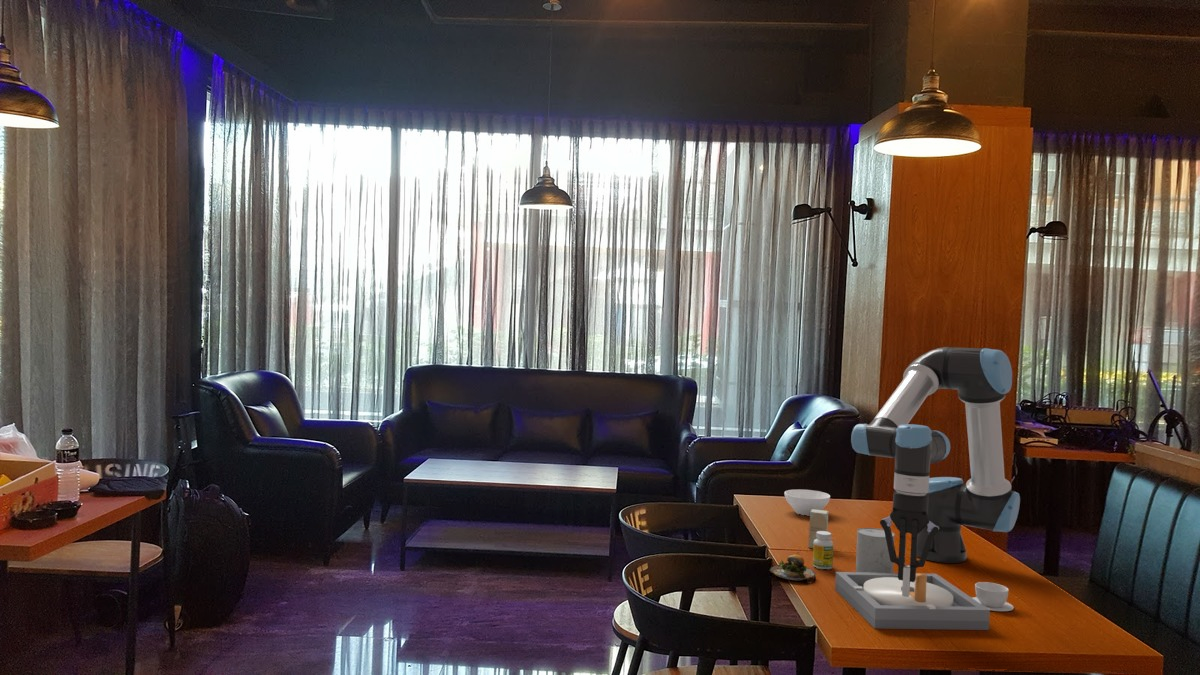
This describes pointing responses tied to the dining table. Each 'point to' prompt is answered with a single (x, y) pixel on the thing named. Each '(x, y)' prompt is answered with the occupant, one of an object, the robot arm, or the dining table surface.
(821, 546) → the supplement bottle
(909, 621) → the grey square tray
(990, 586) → the teacup
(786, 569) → the multicoloured round food plate
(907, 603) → the dial
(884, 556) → the gray speckled cylinder
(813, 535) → the box
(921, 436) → the robot arm
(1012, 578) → the dining table surface
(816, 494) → the bowl
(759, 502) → the dining table surface
